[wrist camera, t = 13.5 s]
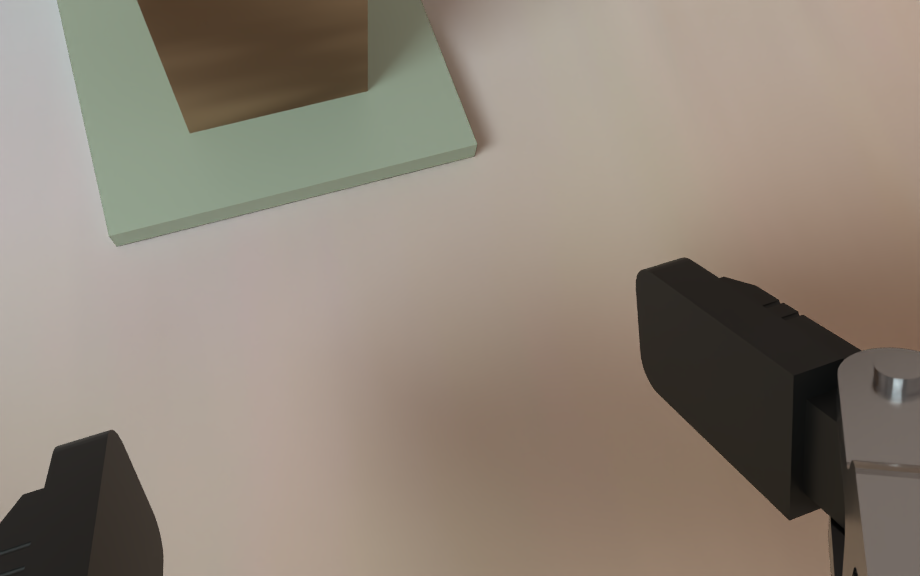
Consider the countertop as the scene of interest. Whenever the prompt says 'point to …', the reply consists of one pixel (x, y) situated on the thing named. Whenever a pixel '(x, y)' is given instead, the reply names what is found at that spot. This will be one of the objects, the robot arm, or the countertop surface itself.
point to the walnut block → (258, 54)
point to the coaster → (252, 125)
